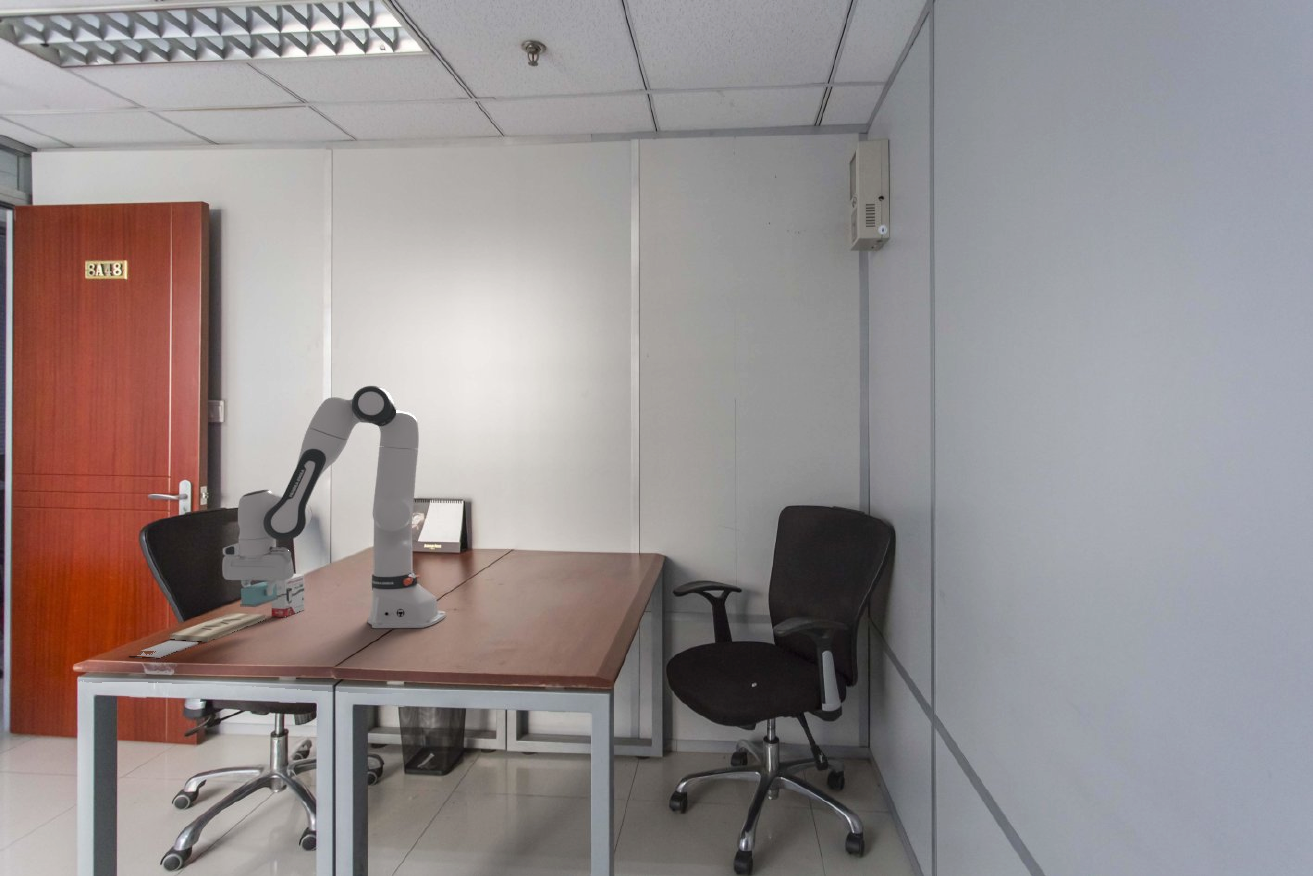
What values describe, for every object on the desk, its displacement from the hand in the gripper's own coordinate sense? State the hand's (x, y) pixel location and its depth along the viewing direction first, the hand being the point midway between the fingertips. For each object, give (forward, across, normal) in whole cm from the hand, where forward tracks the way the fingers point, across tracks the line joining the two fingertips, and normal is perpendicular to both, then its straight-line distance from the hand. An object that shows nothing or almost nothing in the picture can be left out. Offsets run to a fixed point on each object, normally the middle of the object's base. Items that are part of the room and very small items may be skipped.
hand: (259, 595), depth 174 cm
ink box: (+11, +6, -18) cm, 22 cm away
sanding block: (+2, 0, 0) cm, 2 cm away
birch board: (+10, +14, -1) cm, 17 cm away
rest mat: (+10, +14, +16) cm, 24 cm away
